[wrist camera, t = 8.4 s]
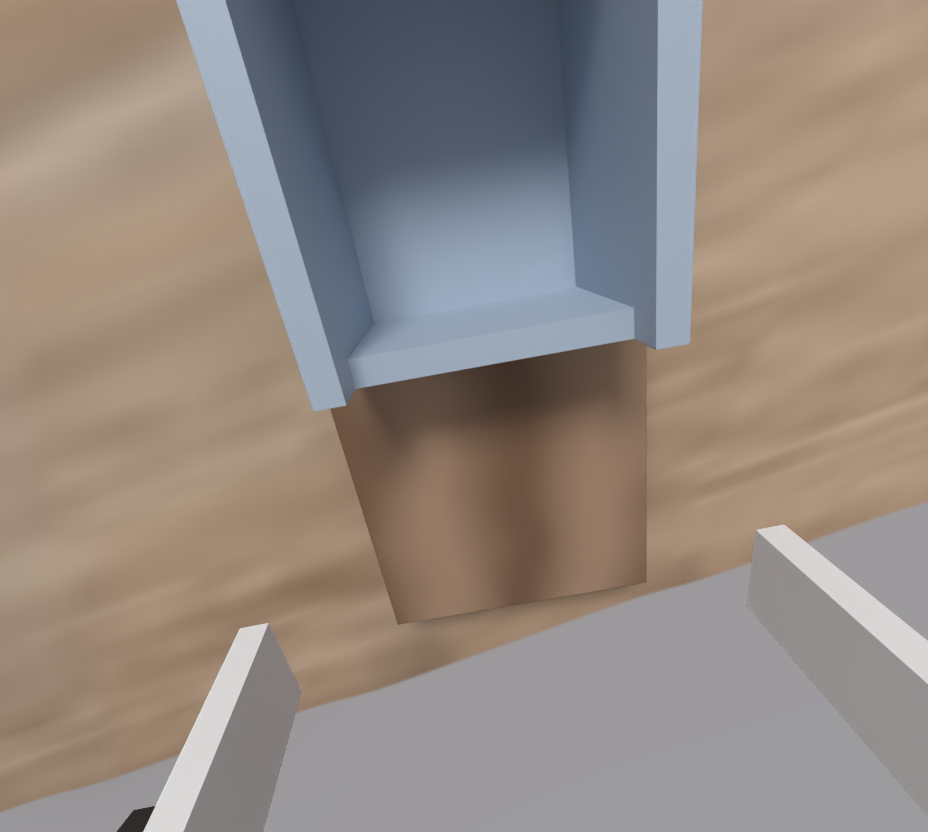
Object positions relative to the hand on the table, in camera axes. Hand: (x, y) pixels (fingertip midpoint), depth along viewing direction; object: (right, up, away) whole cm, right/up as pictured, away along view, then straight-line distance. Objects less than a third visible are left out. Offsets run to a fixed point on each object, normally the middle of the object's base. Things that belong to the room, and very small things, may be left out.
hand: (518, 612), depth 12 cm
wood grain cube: (0, +3, +8) cm, 8 cm away
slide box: (-2, +14, +3) cm, 14 cm away
